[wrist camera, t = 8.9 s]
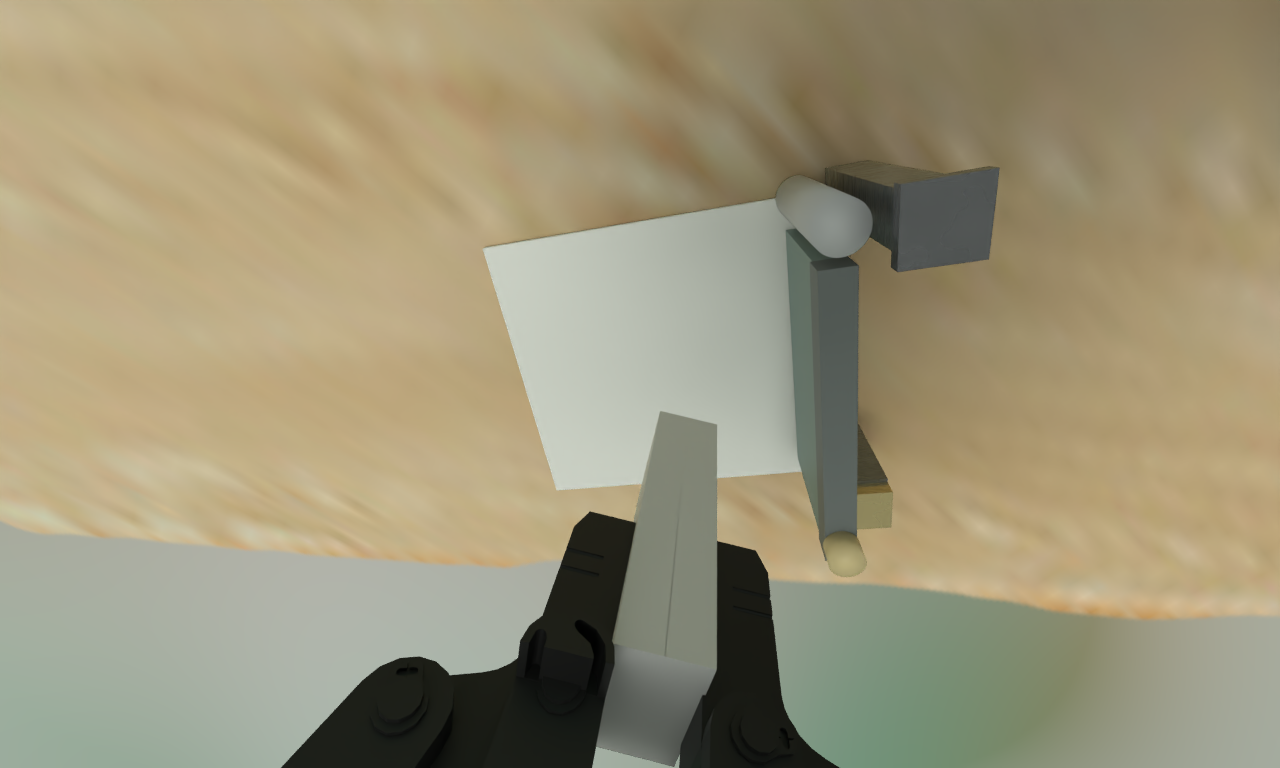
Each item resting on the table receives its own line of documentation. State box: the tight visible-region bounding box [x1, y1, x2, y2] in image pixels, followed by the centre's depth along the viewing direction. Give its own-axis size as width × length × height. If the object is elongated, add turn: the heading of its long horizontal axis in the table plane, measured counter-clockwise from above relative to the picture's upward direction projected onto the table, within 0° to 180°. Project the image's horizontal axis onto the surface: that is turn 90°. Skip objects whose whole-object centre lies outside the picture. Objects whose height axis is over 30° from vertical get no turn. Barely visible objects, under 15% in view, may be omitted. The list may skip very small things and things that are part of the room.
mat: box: [483, 198, 802, 490], centre depth 31 cm, size 17×17×1 cm
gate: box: [776, 175, 873, 577], centre depth 24 cm, size 16×2×10 cm, turn 10°
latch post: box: [857, 424, 893, 529], centre depth 28 cm, size 2×3×7 cm
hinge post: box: [825, 161, 999, 272], centre depth 20 cm, size 3×3×12 cm
